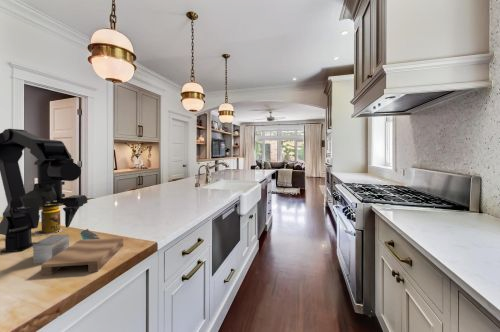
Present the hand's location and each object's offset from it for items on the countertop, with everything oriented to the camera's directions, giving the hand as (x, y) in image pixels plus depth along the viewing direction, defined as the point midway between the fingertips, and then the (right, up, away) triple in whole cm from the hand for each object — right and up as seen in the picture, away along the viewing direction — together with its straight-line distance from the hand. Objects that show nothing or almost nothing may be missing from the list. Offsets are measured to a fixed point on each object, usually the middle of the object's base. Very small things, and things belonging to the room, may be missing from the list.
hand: (51, 227), depth 71 cm
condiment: (-22, -9, +23) cm, 33 cm away
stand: (+12, -10, -1) cm, 16 cm away
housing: (0, -10, 0) cm, 10 cm away
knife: (-1, -9, +19) cm, 21 cm away
